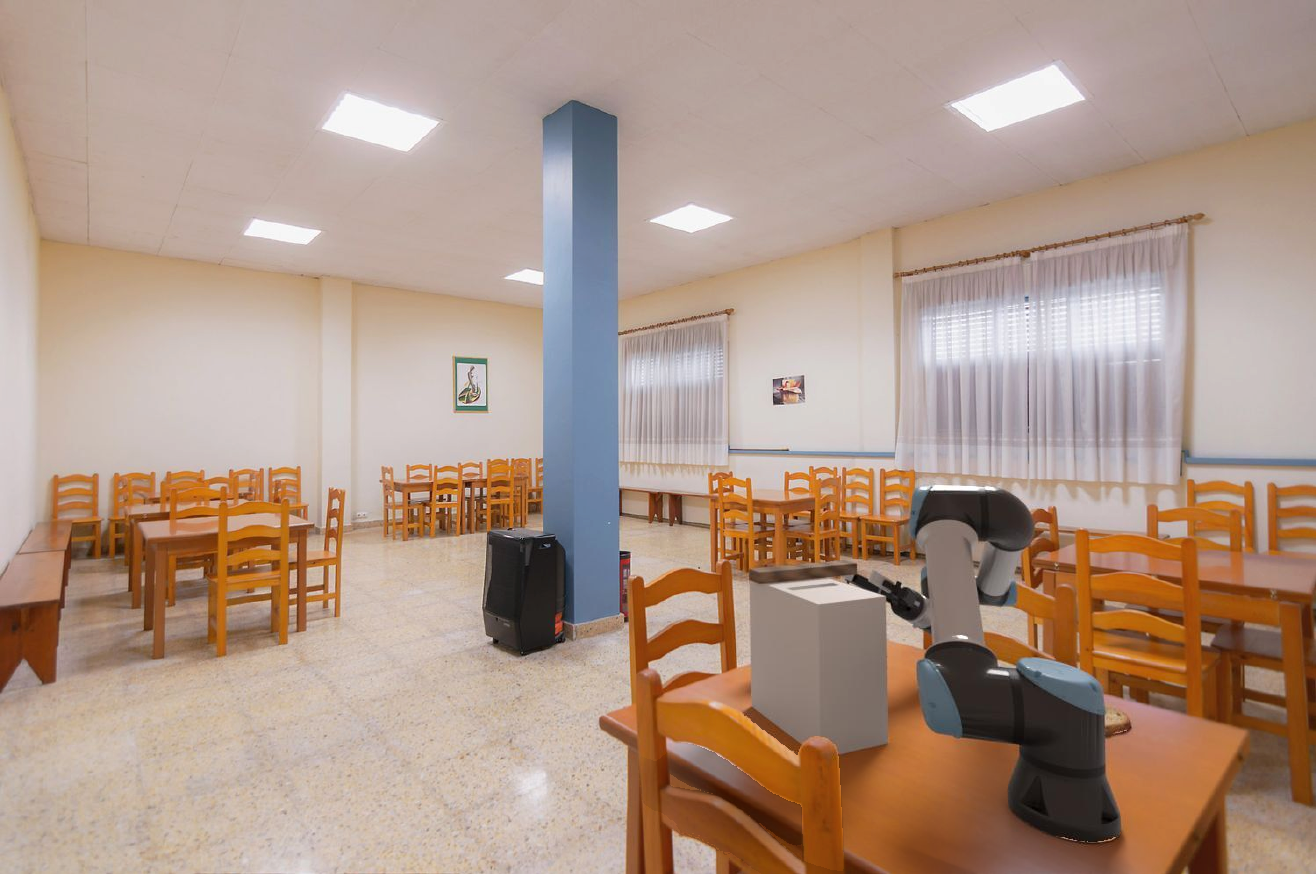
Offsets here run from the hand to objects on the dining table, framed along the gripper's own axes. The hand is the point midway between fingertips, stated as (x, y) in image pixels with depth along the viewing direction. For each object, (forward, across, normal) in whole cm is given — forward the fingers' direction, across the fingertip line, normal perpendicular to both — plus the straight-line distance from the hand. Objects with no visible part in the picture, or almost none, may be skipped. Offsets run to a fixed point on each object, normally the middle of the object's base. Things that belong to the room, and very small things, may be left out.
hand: (851, 570), depth 149 cm
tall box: (0, -9, -34) cm, 35 cm away
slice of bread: (-44, -30, -9) cm, 54 cm away
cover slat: (+12, 0, -7) cm, 14 cm away
